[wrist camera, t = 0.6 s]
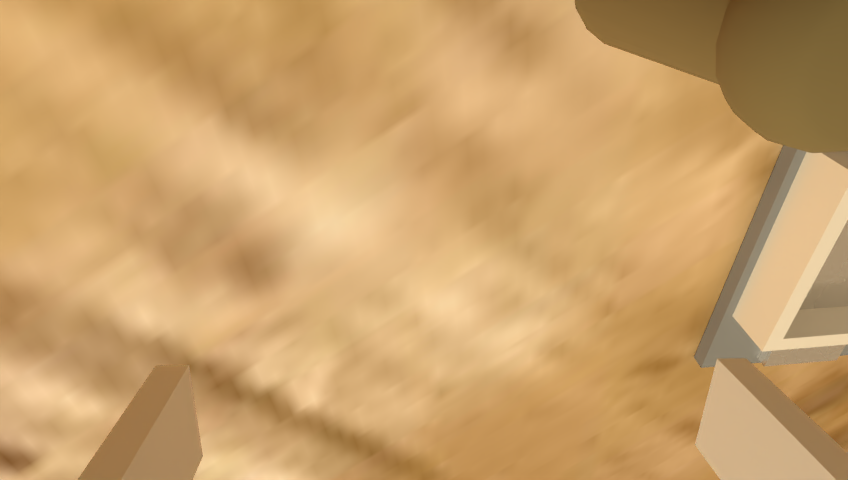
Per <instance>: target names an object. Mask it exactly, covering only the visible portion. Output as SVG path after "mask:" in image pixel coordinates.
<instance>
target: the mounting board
mask: <svg viewBox="0 0 848 480" xmlns="http://www.w3.org/2000/svg"><path fill="white" fill-rule="evenodd" d="M805 154H806V151H802V150H798V149H795V148H791V147H788V146H785V145H784V146H783V148H782V150H781V153H780V155H779V158H778V160H777V162H776V165H775V167H774V169H773V172H772V174H771V176H770V179H769V181H768V184H767V186H766V188H765V191H764V193H763V195H762V198H761V200H760V203H759V205H758V207H757V210H756V212H755V214H754V217H753V219H752V221H751V224H750V226H749V229H748V231H747V233H746V236H745V238H744V240H743V243H742V245H741V247H740V250H739V252H738V255H737V257H736V259H735V262H734V264H733V266H732V269H731V271H730V273H729V276H728V278H727V281H726V283H725V285H724V288H723V290H722V292H721V295H720V297H719V299H718V302H717V304H716V307H715V309H714V311H713V314H712V316H711V318H710V321H709V323H708V325H707V328H706V330H705V333H704V335H703V337H702V340H701V342H700V344H699V347H698V349H697V352H696V354H695V356H694V358H695V359H696V361H697V362H698V364H699V365H700V367H701V368H703V367H714V366H715V365H716V361H717V359H725V358H746V359H747V360H748V361H749V362H751V363H761V362H760V361H759V359H758V358H757V355H758V354H759V352H760V348H759V347H758V346H757V345H756V344H755V342H754V341H753V340H752V339H751V338H750V337H749V335H748V334H747V333H746V332H745V331H744V329H743V328H742V327H741V326H740V325H739V323H738V322H737V321H736V320H735V319H734V317H733V313H734V311H735V309H736V307H737V305H738V302H739V300H740V298H741V296H742V294H743V291H744V289H745V287H746V285H747V282H748V280H749V278H750V276H751V274H752V271H753V269H754V267H755V265H756V263H757V260H758V258H759V256H760V254H761V252H762V249H763V247H764V245H765V243H766V240H767V238H768V236H769V234H770V232H771V229H772V227H773V225H774V223H775V221H776V218H777V216H778V214H779V212H780V210H781V207H782V205H783V203H784V201H785V198H786V196H787V194H788V192H789V190H790V187H791V185H792V183H793V181H794V179H795V176H796V174H797V172H798V170H799V167H800V165H801V163H802V161H803V159H804V156H805ZM842 355H848V344H847V345H846V346H845V348H844V349H843V351H842V352H841V354H840V356H842Z"/></svg>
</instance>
